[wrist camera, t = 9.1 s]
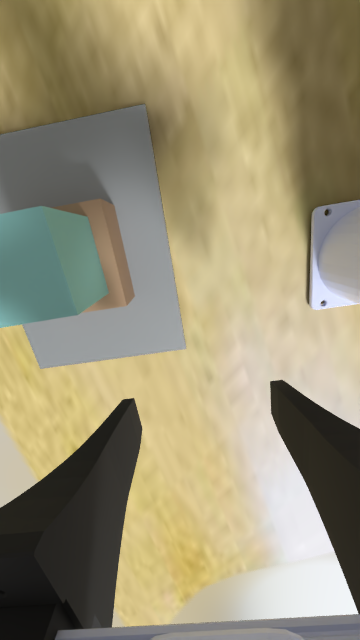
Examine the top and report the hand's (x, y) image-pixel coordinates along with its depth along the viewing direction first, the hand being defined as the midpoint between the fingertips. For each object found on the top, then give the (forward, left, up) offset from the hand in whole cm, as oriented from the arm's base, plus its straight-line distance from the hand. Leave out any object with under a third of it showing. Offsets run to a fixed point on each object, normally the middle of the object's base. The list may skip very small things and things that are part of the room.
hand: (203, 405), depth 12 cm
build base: (+8, -8, -9) cm, 15 cm away
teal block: (+8, -8, -6) cm, 13 cm away
